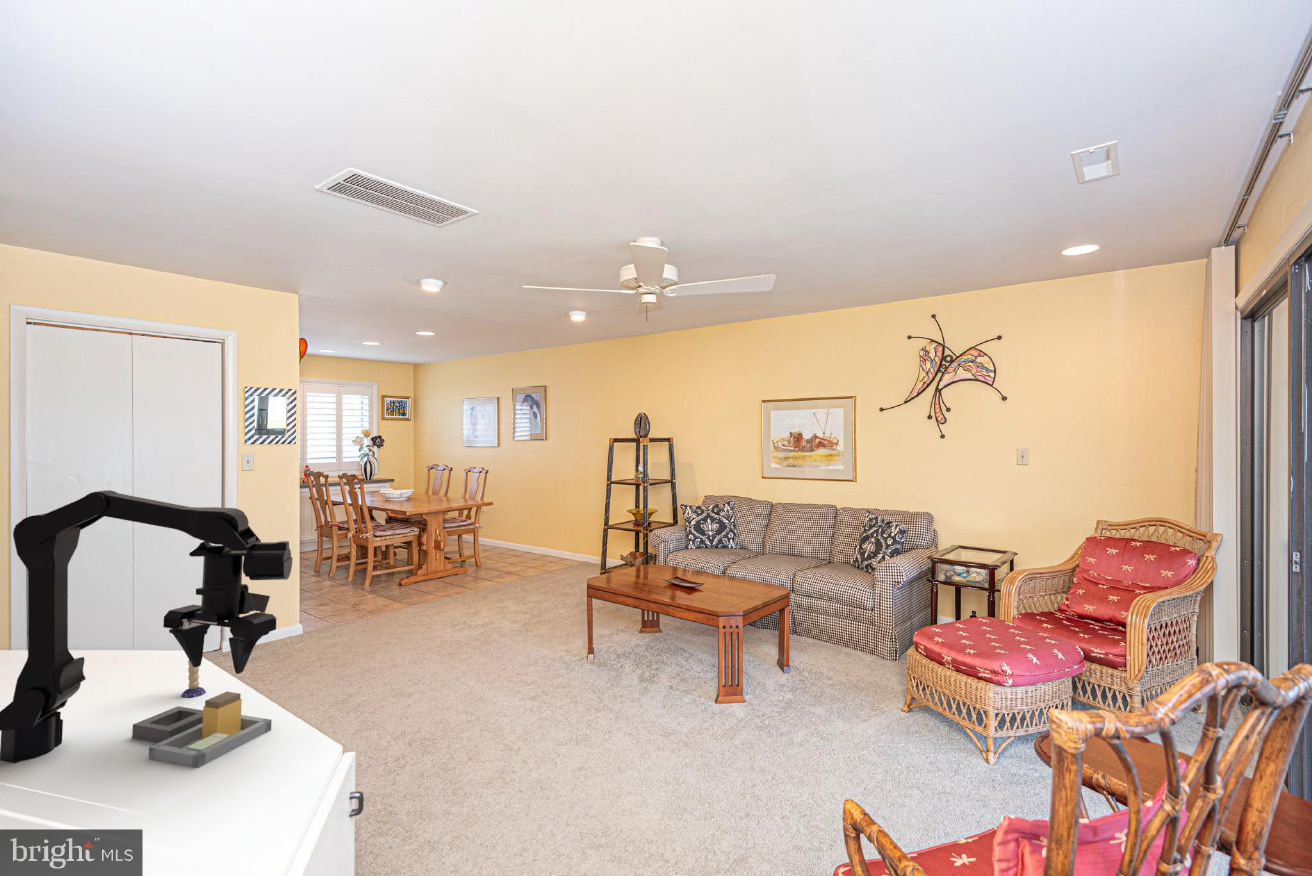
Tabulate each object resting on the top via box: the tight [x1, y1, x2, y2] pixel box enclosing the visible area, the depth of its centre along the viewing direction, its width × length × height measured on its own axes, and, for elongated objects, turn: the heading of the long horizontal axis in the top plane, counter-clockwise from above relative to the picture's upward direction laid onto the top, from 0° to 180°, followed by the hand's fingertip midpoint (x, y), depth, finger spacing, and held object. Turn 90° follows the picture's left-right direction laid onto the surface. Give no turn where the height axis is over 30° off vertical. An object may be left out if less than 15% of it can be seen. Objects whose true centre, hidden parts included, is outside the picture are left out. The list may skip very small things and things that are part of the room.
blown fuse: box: [201, 691, 243, 740], centre depth 110 cm, size 5×3×7 cm
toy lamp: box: [180, 629, 209, 699], centre depth 127 cm, size 5×5×17 cm
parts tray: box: [148, 714, 273, 769], centre depth 107 cm, size 14×10×2 cm
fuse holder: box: [131, 705, 203, 744], centre depth 111 cm, size 8×8×3 cm
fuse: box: [186, 733, 229, 752], centre depth 104 cm, size 5×3×2 cm, turn 167°
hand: (218, 669), depth 110 cm, fingers open, 9 cm apart
